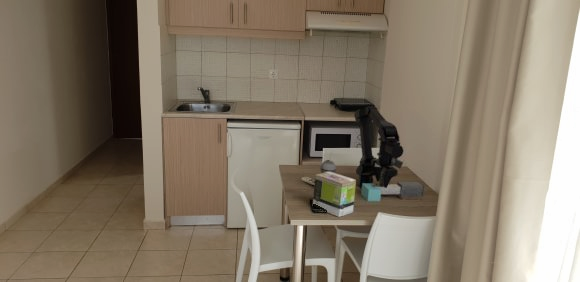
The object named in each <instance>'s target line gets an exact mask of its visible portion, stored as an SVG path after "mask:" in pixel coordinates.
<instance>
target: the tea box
mask: <svg viewBox="0 0 580 282" xmlns="http://www.w3.org/2000/svg"><path fill="white" fill-rule="evenodd" d="M356 186H357V179H355V178H352V177H349V176H346V175H342V174H339V173H336V172H335V173H333V172H330V171H329V172H325V173H321V172H320V173H316V174H314V185H313V187H314V188H313V199H312V205H313V204H316V205H318V206H320V207H322V208H324V209H326V210H327V212H326V213H328V214H331V215H333V216H335V217H338V218H339V217H340V218H341V217H343V216H347V215H350V214H352V213H354V206H355V205H354V204H355V196H356Z"/></svg>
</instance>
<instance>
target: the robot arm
mask: <svg viewBox="0 0 580 282" xmlns="http://www.w3.org/2000/svg"><path fill="white" fill-rule="evenodd" d="M353 117H354V120H355V124H357V126H358V127H359V135H360V146H361V157H360V160H359V165H358V166H357V168H356V169H355V174H356V175H358V178H357V182H356V186H358V187H359V189H362V183H374V178H373V176H374V177H375V179H376V182H379V183H380V176H382V179H383V184H384V188H387V186H388V184H390V182H391V180H392V178H394V177H396V176H398V172H399V171H398V170H397V168H398V169H399V170H400V169H401V168H402V166H403V164H404V162H403V161H401V160H399V159H398V158H400V157H402V156H403V154H404V148H403V146H402V145H401V142H400V141H401V140H400V135H399V133H398V128H397V126H396V125H395V124H393V123H392V122H389V121H387V120H386V118H385V117H384V116H383V115H382V114H381V113H380V112H379V109H378V108H377V107H376V106H367V107H364V108H360V109H357V110H356V111H355V112H354V116H353ZM372 122H373V123H374V125H375V126H376V127H377V133H378V135H379V138H378V139H377V140H378V141H379V149H378V152H377V154H376V155H377V156H378V157H374V155H373V151H372V150H373V149H372V148H373V147H372V140H371V130H370V127H371V124H372ZM395 167H396V168H395Z"/></svg>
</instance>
